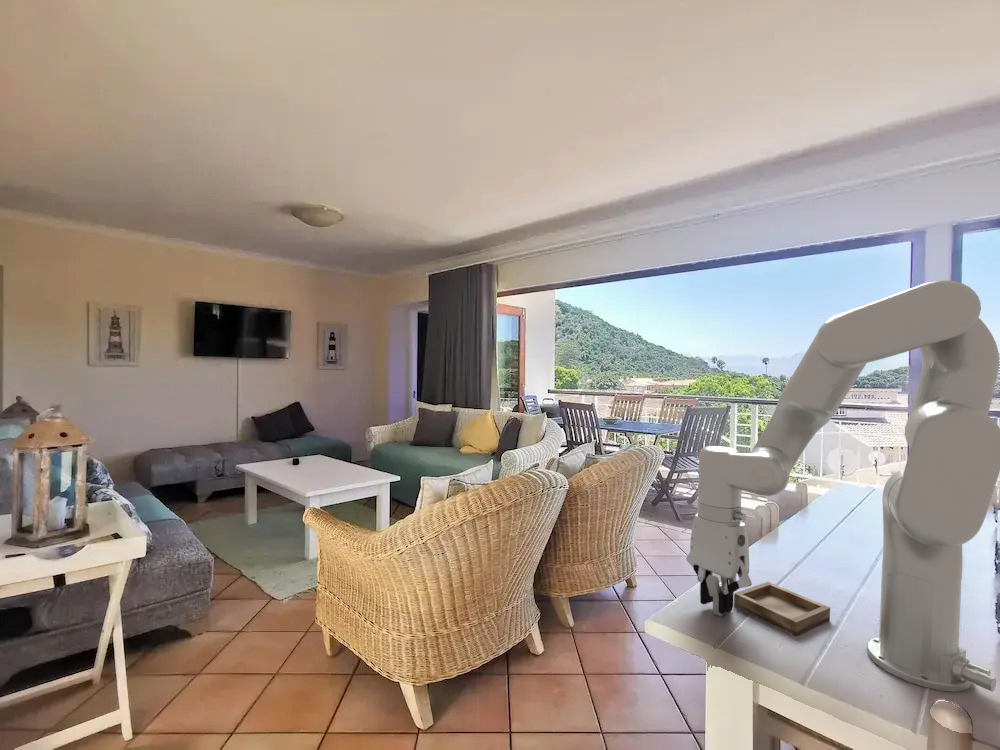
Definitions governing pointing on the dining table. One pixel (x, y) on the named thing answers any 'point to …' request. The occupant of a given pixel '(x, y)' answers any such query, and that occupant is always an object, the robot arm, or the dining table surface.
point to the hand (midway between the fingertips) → (716, 606)
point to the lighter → (714, 592)
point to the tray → (782, 608)
